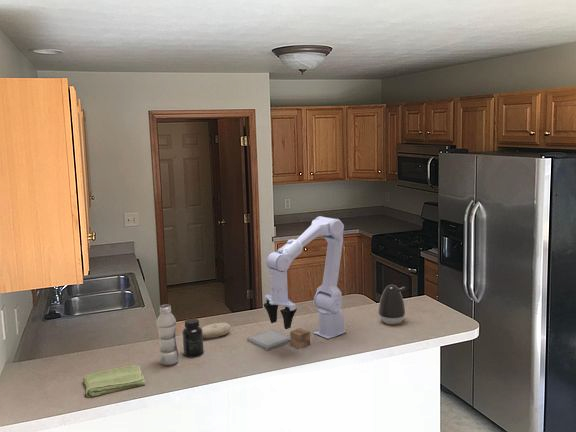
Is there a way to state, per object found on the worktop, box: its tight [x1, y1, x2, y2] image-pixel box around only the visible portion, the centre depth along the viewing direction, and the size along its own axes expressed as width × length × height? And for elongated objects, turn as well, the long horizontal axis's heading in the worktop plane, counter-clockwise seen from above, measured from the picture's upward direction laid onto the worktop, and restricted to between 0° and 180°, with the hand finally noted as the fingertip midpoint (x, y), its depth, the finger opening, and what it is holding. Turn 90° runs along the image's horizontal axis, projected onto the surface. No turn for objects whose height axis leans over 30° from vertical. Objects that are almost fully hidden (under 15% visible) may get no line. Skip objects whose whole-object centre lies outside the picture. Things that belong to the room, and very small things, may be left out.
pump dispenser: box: [378, 284, 406, 325], centre depth 211 cm, size 10×10×15 cm
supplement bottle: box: [182, 318, 205, 358], centre depth 187 cm, size 7×7×12 cm
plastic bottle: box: [155, 303, 180, 366], centre depth 180 cm, size 6×7×20 cm
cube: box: [289, 327, 311, 349], centre depth 193 cm, size 5×5×5 cm
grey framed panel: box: [246, 329, 291, 351], centre depth 197 cm, size 12×12×1 cm
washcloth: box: [82, 364, 146, 398], centre depth 168 cm, size 13×18×3 cm
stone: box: [201, 322, 232, 339], centre depth 203 cm, size 6×6×12 cm
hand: (280, 325), depth 186 cm, fingers open, 7 cm apart
